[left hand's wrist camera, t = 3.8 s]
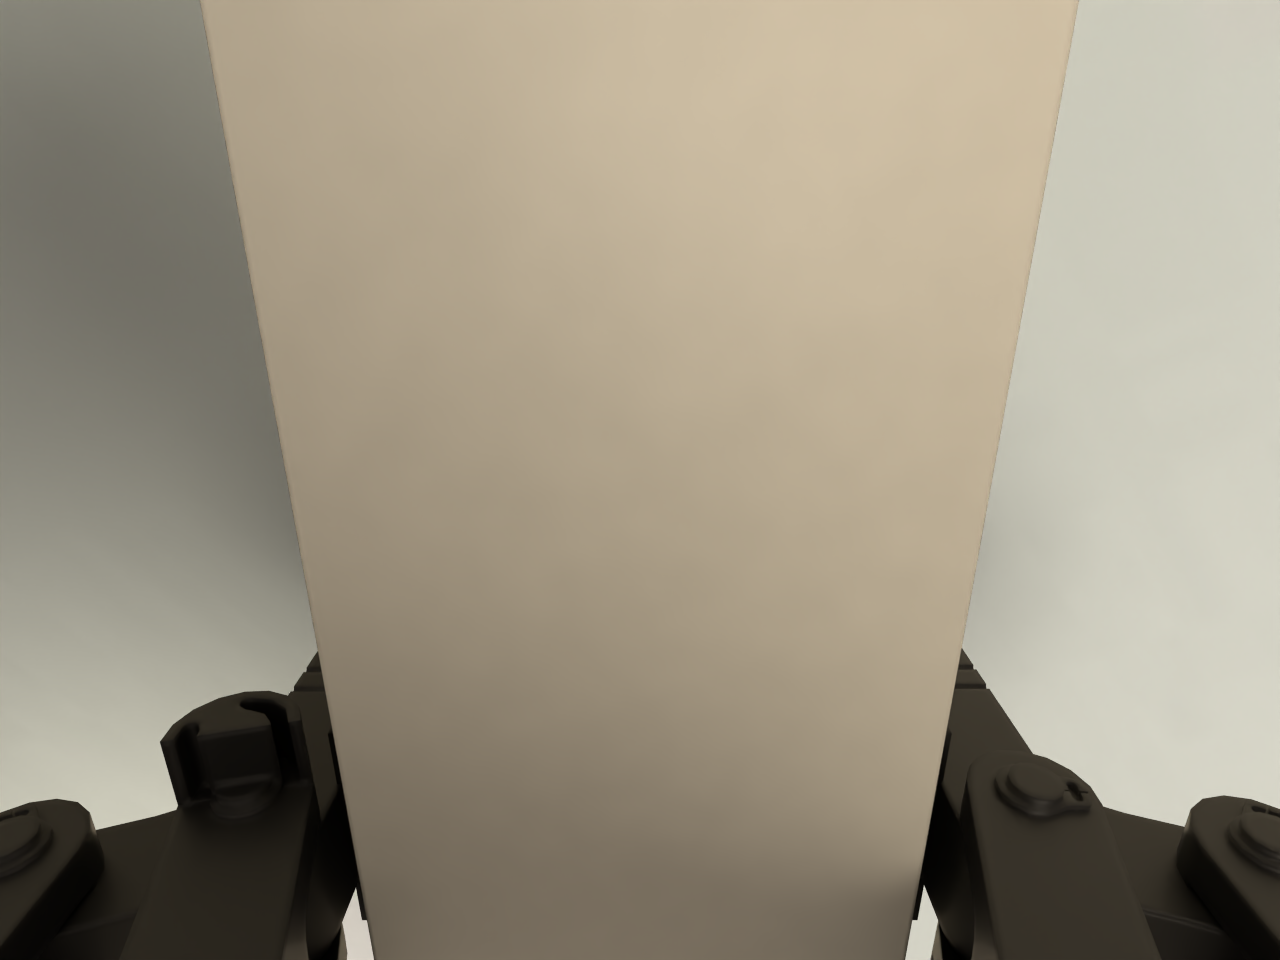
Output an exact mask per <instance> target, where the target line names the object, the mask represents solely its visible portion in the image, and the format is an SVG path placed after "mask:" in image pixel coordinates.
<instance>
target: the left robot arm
mask: <svg viewBox="0 0 1280 960" xmlns="http://www.w3.org/2000/svg"><path fill="white" fill-rule="evenodd" d="M160 744H161V747H162V751H163V754H164V758H165V761H166V765H167V768H168V772H169V775H170V779H171V782H172V786H173V789H174V793H175V796H176V800H177V803H178V807H177V810H175V811H171V812H168V813H165V814H161V815H158V816H155V817H150V818H146V819H142V820H137V821H133V822H129V823H125V824H120V825H116V826H112V827H107V828H103V829H99V830H95V827H94V824H93V821H92V818H91V815H90V812H89V811H87V810H86V809H85V808H84V807H83V806H82V805H80V804H79V803H78V802H73V801H67V800H61V799H52V800H45V801H38V802H31V803H27V804H24V805H21V806H18V807H15V808H13V809H10V810H7V811H4V812H1V813H0V960H347V948H346V941H345V935H344V929H343V924H342V921H343V918H344V916H345V913H346V911H347V908H348V906H349V903H350V901H351V898H352V896H353V893H354V891H355V888H356V890H357V895H358V900H359V906H360V911H361V917H362V920H367V917H366V912H365V906H364V901H363V895H362V890H361V884H360V879H359V873H358V868H357V862H356V857H355V851H354V846H353V840H352V835H351V829H350V824H349V818H348V813H347V807H346V802H345V796H344V791H343V785H342V780H341V774H340V769H339V763H338V758H337V752H336V747H335V741H334V736H333V730H332V725H331V719H330V714H329V708H328V703H327V697H326V692H325V686H324V681H323V675H322V670H321V664H320V659H319V653H318V652H317V653H316V655H315V656H314V658H313V659H312V661H311V662H310V664H309V665H308V667H307V672H304V673H303V674H302V676H301V677H300V679H299V680H298V682H297V683H296V685H295V686H294V691H293V692H290V693H289V695H288V696H287V695H283V694H279V693H275V692H271V691H253V692H242V693H238V694H234V695H230V696H226V697H222V698H218V699H216V700H214V701H212V702H209V703H207V704H205V705H203V706H201V707H198V708H196V709H194V710H192V711H191V712H190V713H188V714H187V715H186V716H184V717H183V718H182V719H180V720H179V721H177V722H176V723H175V724H173V725H172V727H171V728H170V729H169V731H168V732H167V733H166V735H165V736H164V737H163V739H162V740H161V741H160ZM924 886H925V888H926V891H927V893H928V896H929V898H930V901H931V903H932V906H933V908H934V911H935V913H936V916H937V918H938V924H937V929H936V935H935V940H934V945H933V950H932V955H931V960H1280V809H1278V808H1275V807H1272V806H1270V805H1266V804H1263V803H1260V802H1258V801H1255V800H1252V799H1245V798H1238V797H1231V796H1218V797H1211V798H1205V799H1202V800H1201V801H1200V802H1198V803H1197V804H1196V805H1195V806H1194V807H1193V808H1192V809H1191V810H1190V813H1189V816H1188V819H1187V822H1186V825H1185V827H1182V826H1178V825H1174V824H1169V823H1165V822H1161V821H1156V820H1152V819H1148V818H1143V817H1139V816H1135V815H1130V814H1126V813H1122V812H1119V811H1116V810H1113V809H1109V808H1106V807H1103V806H1102V804H1101V802H1100V801H1099V799H1098V798H1097V796H1096V795H1095V793H1094V791H1093V790H1092V788H1091V787H1090V786H1089V785H1088V784H1087V783H1086V782H1084V781H1083V780H1082V779H1081V778H1080V777H1078V776H1077V775H1076V774H1075V773H1074V772H1072V771H1071V770H1069V769H1067V768H1065V767H1064V766H1062V765H1060V764H1058V763H1056V762H1054V761H1052V760H1050V759H1048V758H1045V757H1042V756H1038V755H1034V754H1033V753H1032V752H1031V750H1030V749H1029V747H1028V746H1027V744H1026V743H1025V741H1024V740H1023V738H1022V737H1021V735H1020V734H1019V732H1018V731H1017V729H1016V728H1015V726H1014V725H1013V723H1012V722H1011V721H1010V719H1009V718H1008V716H1007V715H1006V713H1005V712H1004V710H1003V709H1002V707H1001V706H1000V704H999V703H998V701H997V700H996V698H995V697H994V695H993V694H992V692H991V691H990V689H986V683H985V682H984V680H983V679H982V677H981V676H980V674H979V673H978V671H977V670H974V669H973V664H972V663H971V661H970V660H969V658H968V657H967V655H966V654H965V652H964V651H963V649H962V648H961V653H960V659H959V664H958V670H957V675H956V681H955V686H954V692H953V698H952V703H951V709H950V714H949V720H948V725H947V731H946V736H945V742H944V747H943V753H942V758H941V764H940V769H939V775H938V780H937V786H936V791H935V797H934V802H933V808H932V813H931V819H930V824H929V830H928V835H927V841H926V846H925V852H924V858H923V863H922V869H921V874H920V880H919V885H918V891H917V896H916V902H915V907H914V913H913V918H912V920H917V919H918V914H919V908H920V903H921V898H922V892H923V887H924Z"/></svg>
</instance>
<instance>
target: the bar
mask: <svg viewBox="0 0 1280 960" xmlns="http://www.w3.org/2000/svg"><path fill="white" fill-rule="evenodd" d="M1078 2H1079V0H200V5H201V10H202V16H203V21H204V27H205V32H206V38H207V43H208V49H209V54H210V60H211V65H212V71H213V76H214V82H215V87H216V93H217V98H218V104H219V109H220V114H221V120H222V125H223V131H224V136H225V142H226V147H227V153H228V158H229V164H230V169H231V175H232V180H233V186H234V191H235V197H236V202H237V208H238V213H239V219H240V224H241V230H242V235H243V241H244V246H245V252H246V257H247V263H248V268H249V274H250V279H251V285H252V290H253V296H254V301H255V307H256V312H257V318H258V323H259V329H260V334H261V340H262V345H263V351H264V356H265V362H266V367H267V373H268V378H269V384H270V389H271V395H272V400H273V406H274V411H275V417H276V422H277V428H278V433H279V439H280V444H281V450H282V455H283V461H284V466H285V472H286V477H287V483H288V488H289V494H290V499H291V505H292V510H293V516H294V521H295V527H296V532H297V538H298V543H299V549H300V554H301V560H302V565H303V571H304V576H305V582H306V587H307V593H308V598H309V604H310V609H311V615H312V620H313V626H314V631H315V637H316V642H317V648H318V653H319V659H320V664H321V670H322V675H323V681H324V686H325V692H326V697H327V703H328V708H329V714H330V719H331V725H332V730H333V736H334V741H335V747H336V752H337V758H338V763H339V769H340V774H341V780H342V785H343V791H344V796H345V802H346V807H347V813H348V818H349V824H350V829H351V835H352V840H353V846H354V851H355V857H356V862H357V868H358V873H359V879H360V884H361V890H362V895H363V901H364V906H365V912H366V917H367V923H368V928H369V934H370V939H371V945H372V950H373V956H374V960H905V957H906V951H907V946H908V940H909V935H910V929H911V924H912V918H913V913H914V907H915V902H916V896H917V891H918V885H919V880H920V874H921V869H922V863H923V858H924V852H925V846H926V841H927V835H928V830H929V824H930V819H931V813H932V808H933V802H934V797H935V791H936V786H937V780H938V775H939V769H940V764H941V758H942V753H943V747H944V742H945V736H946V731H947V725H948V720H949V714H950V709H951V703H952V698H953V692H954V686H955V681H956V675H957V670H958V664H959V659H960V653H961V648H962V642H963V637H964V631H965V626H966V620H967V615H968V609H969V604H970V598H971V593H972V587H973V582H974V576H975V571H976V565H977V560H978V554H979V549H980V543H981V538H982V532H983V527H984V521H985V515H986V510H987V504H988V499H989V493H990V488H991V482H992V477H993V471H994V466H995V460H996V455H997V449H998V444H999V438H1000V433H1001V427H1002V422H1003V416H1004V411H1005V405H1006V400H1007V394H1008V389H1009V383H1010V378H1011V372H1012V367H1013V361H1014V356H1015V350H1016V344H1017V339H1018V333H1019V328H1020V322H1021V317H1022V311H1023V306H1024V300H1025V295H1026V289H1027V284H1028V278H1029V273H1030V267H1031V262H1032V256H1033V251H1034V245H1035V240H1036V234H1037V229H1038V223H1039V218H1040V212H1041V207H1042V201H1043V196H1044V190H1045V184H1046V179H1047V173H1048V168H1049V162H1050V157H1051V151H1052V146H1053V140H1054V135H1055V129H1056V124H1057V118H1058V113H1059V107H1060V102H1061V96H1062V91H1063V85H1064V80H1065V74H1066V69H1067V63H1068V58H1069V52H1070V47H1071V41H1072V36H1073V30H1074V25H1075V19H1076V13H1077V8H1078Z"/></svg>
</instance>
